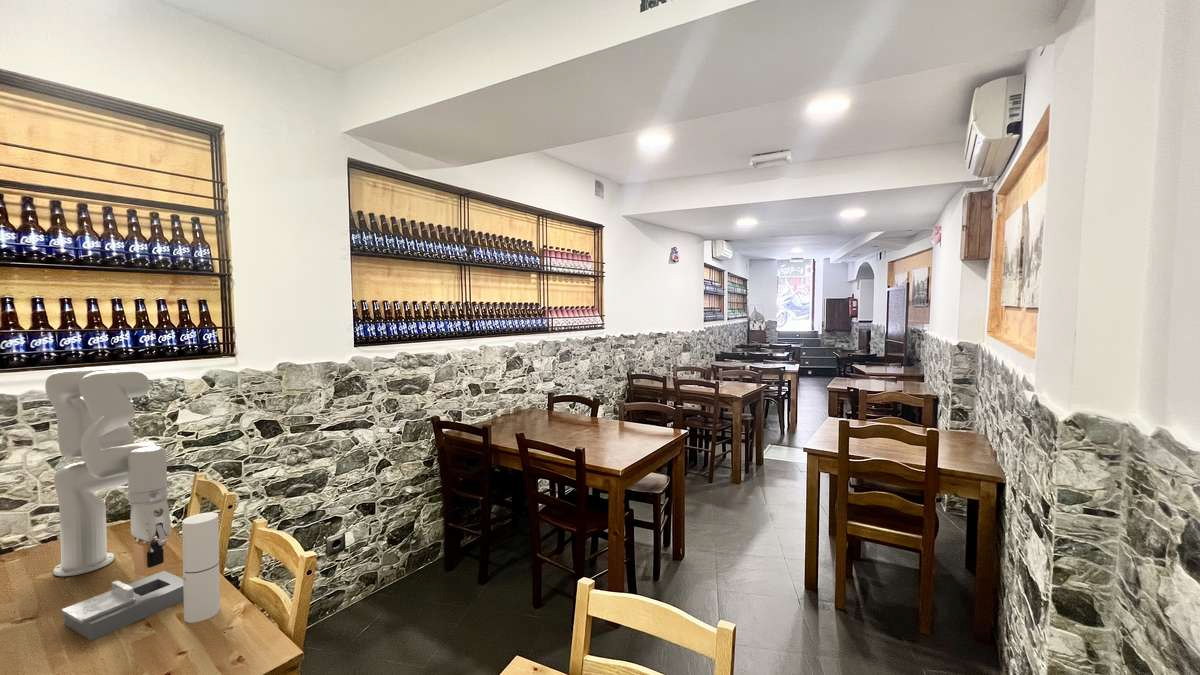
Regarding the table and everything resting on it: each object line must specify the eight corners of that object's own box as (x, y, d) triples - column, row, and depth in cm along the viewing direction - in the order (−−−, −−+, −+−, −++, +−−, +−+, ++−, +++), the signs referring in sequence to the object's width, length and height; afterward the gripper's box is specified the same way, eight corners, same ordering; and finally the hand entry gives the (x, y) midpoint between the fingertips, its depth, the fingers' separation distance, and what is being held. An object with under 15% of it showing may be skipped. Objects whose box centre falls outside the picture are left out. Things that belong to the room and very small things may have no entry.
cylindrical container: (199, 624, 121) (197, 525, 120) (176, 620, 122) (174, 522, 121) (227, 607, 128) (225, 513, 127) (204, 604, 129) (203, 511, 128)
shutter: (61, 612, 118) (61, 599, 118) (115, 591, 127) (115, 579, 127) (80, 624, 114) (80, 610, 114) (135, 601, 123) (135, 588, 123)
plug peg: (134, 572, 128) (133, 542, 128) (156, 564, 132) (155, 535, 132) (143, 576, 126) (142, 546, 126) (165, 568, 130) (164, 538, 130)
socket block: (64, 624, 120) (63, 608, 120) (164, 584, 138) (163, 570, 138) (91, 640, 114) (91, 624, 114) (191, 596, 132) (191, 582, 132)
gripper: (183, 495, 129) (184, 563, 129) (149, 485, 136) (151, 550, 136) (147, 505, 122) (149, 577, 122) (113, 494, 129) (115, 562, 129)
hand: (150, 562), depth 129 cm, fingers closed on plug peg, 4 cm apart
